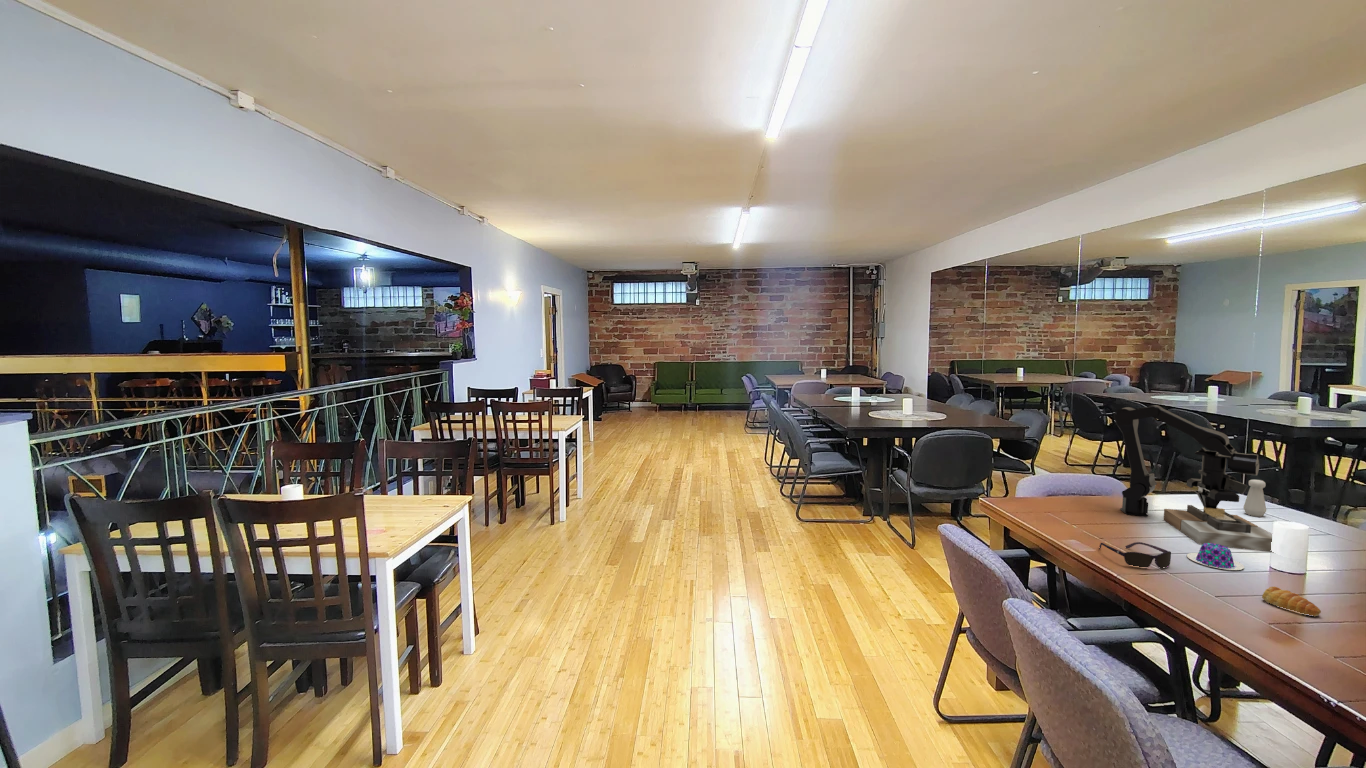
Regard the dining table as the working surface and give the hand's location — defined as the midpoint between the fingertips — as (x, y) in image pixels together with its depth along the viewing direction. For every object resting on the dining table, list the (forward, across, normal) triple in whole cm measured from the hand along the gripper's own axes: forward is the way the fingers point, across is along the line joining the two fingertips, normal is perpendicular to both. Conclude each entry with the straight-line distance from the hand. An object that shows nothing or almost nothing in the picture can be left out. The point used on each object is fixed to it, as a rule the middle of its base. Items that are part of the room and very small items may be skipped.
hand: (1209, 514), depth 184 cm
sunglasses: (+6, -38, +35) cm, 52 cm away
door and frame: (+5, -6, 0) cm, 8 cm away
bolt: (+1, -6, 0) cm, 6 cm away
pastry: (+5, -60, +11) cm, 61 cm away
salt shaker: (+5, +23, -23) cm, 33 cm away
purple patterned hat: (+6, -34, +13) cm, 37 cm away
